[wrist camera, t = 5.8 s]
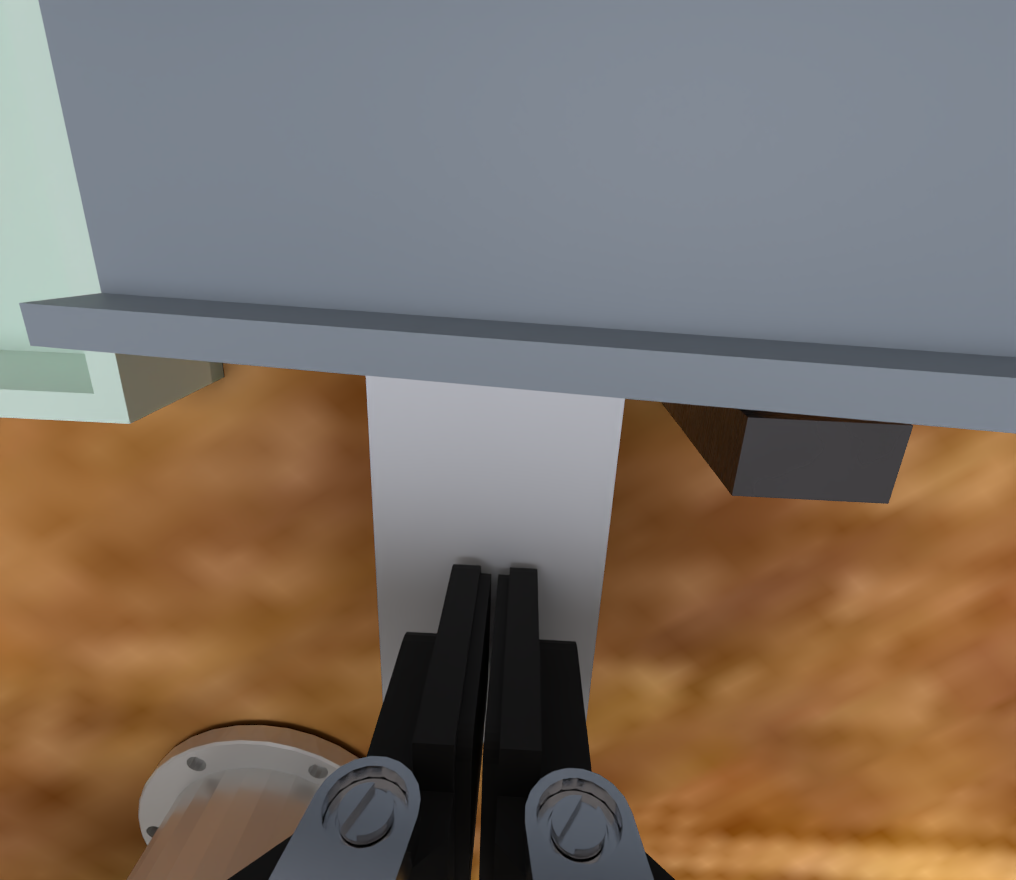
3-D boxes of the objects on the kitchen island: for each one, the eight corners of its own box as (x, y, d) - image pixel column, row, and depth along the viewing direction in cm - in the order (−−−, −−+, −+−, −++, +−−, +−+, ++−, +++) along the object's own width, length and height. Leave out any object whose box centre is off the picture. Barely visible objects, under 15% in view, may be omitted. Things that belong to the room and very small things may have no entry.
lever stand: (757, 394, 19) (933, 524, 11) (612, 387, 19) (677, 511, 11) (856, -82, 15) (1300, -499, 6) (665, -88, 15) (847, -506, 6)
